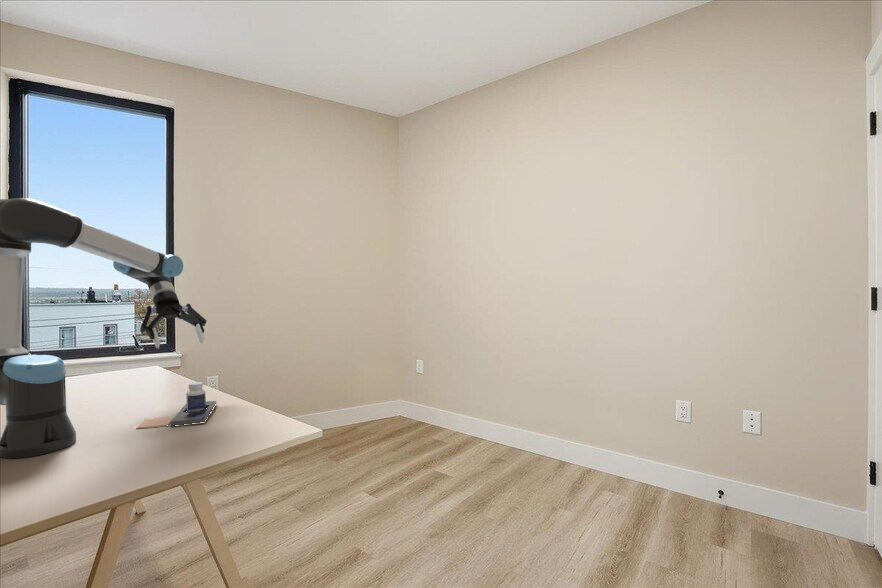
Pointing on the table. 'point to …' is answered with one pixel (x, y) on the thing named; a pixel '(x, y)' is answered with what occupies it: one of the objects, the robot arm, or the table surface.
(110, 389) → the table surface
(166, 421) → the coaster
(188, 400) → the pill bottle
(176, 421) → the holder
